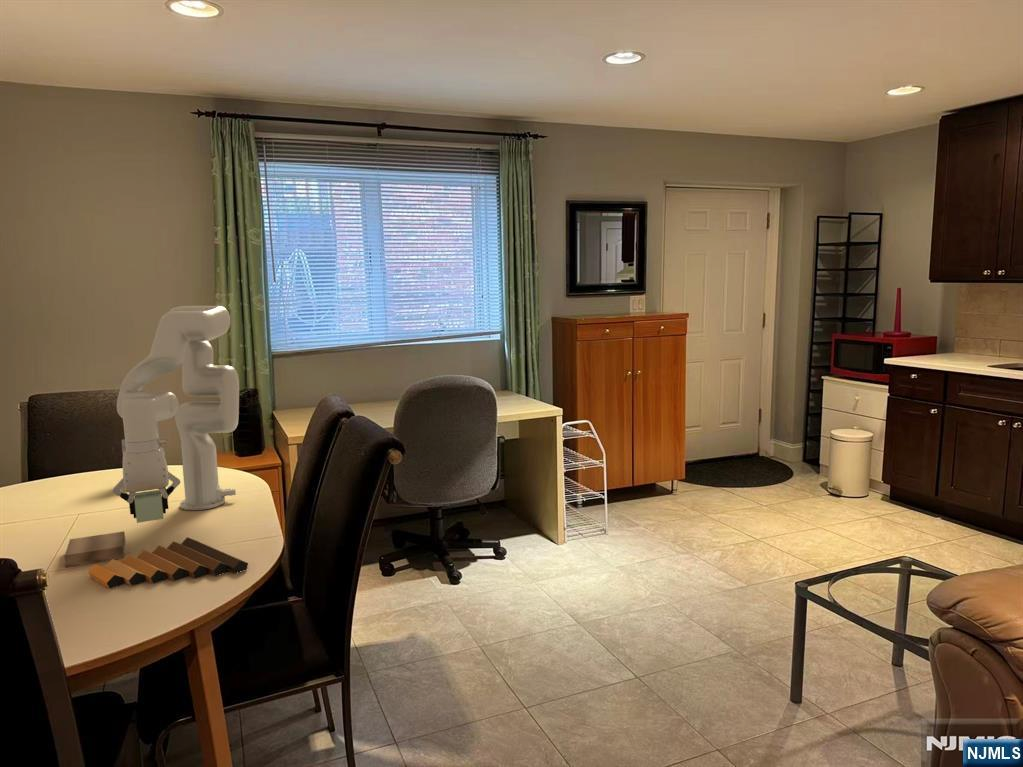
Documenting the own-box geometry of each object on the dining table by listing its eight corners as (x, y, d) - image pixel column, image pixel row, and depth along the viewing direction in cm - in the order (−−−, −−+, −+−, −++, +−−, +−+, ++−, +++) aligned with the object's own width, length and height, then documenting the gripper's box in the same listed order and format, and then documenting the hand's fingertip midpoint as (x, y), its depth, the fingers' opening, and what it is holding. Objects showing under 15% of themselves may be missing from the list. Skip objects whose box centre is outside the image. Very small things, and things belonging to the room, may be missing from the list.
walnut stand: (125, 542, 182) (124, 531, 181) (123, 558, 171) (122, 546, 170) (71, 550, 176) (70, 539, 176) (65, 567, 166) (64, 555, 165)
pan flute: (248, 571, 163) (195, 547, 179) (247, 557, 163) (194, 535, 178) (138, 611, 144) (89, 580, 160) (136, 595, 144) (87, 566, 159)
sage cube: (163, 511, 183) (161, 489, 182) (163, 518, 177) (161, 496, 176) (137, 515, 180) (134, 493, 179) (136, 522, 175) (134, 500, 174)
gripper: (180, 438, 183) (186, 504, 186) (104, 446, 175) (112, 515, 178) (181, 445, 176) (187, 513, 179) (102, 454, 168) (110, 525, 171)
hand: (149, 513), depth 179 cm, fingers closed on sage cube, 6 cm apart
